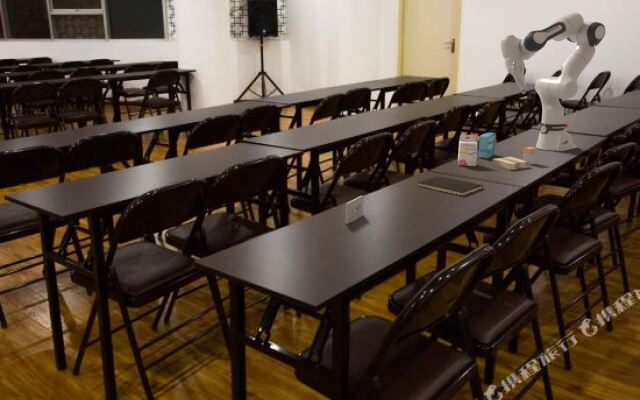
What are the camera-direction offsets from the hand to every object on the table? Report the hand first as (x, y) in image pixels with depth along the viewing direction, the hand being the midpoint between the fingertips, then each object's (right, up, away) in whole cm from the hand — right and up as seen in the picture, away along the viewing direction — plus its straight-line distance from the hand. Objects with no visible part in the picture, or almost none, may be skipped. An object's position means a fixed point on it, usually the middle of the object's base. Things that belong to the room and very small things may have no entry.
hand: (523, 91), depth 298 cm
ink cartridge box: (-30, -38, -5) cm, 49 cm away
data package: (-15, -33, +12) cm, 38 cm away
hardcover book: (-47, -51, -43) cm, 81 cm away
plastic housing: (+1, -37, -4) cm, 37 cm away
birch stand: (-10, -39, -9) cm, 41 cm away
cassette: (-91, -63, -82) cm, 138 cm away
